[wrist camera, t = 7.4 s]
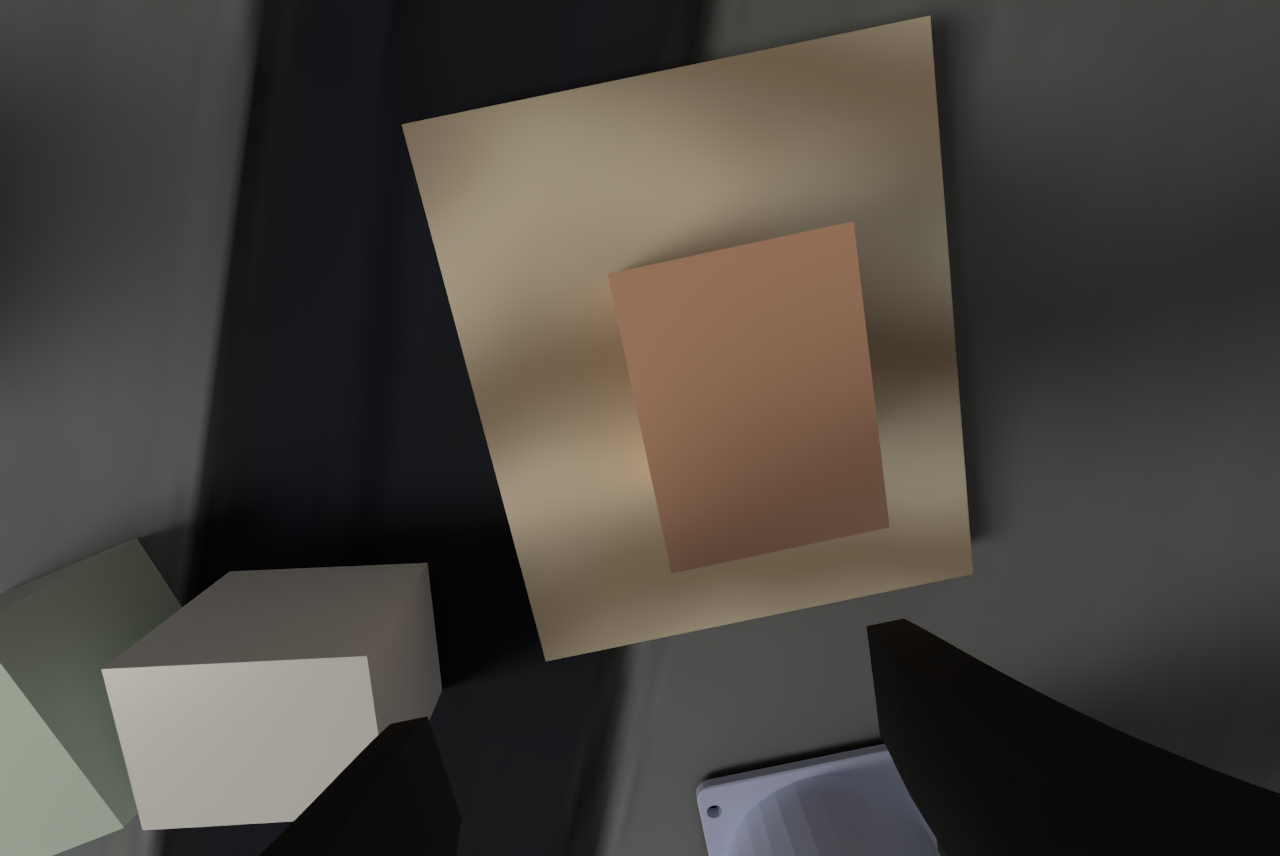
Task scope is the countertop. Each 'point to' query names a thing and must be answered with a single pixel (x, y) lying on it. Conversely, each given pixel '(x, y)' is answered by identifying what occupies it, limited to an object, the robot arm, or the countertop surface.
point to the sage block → (69, 698)
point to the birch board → (676, 228)
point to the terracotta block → (755, 396)
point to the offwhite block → (270, 689)
